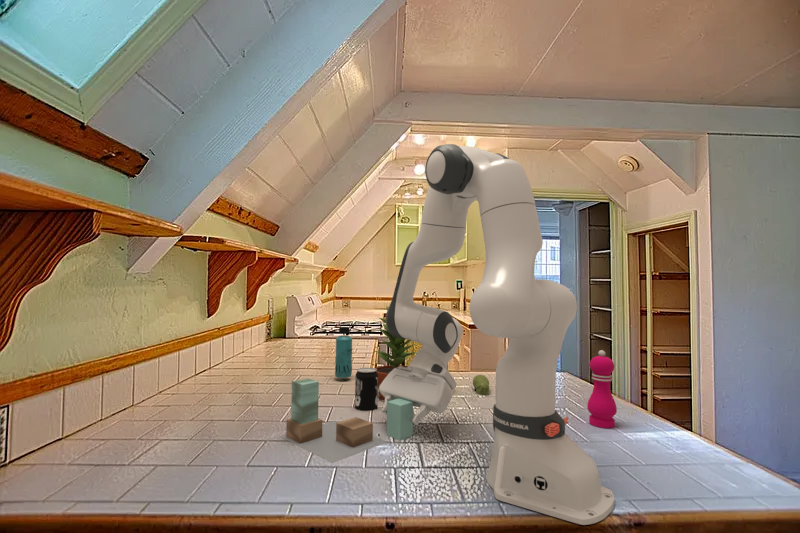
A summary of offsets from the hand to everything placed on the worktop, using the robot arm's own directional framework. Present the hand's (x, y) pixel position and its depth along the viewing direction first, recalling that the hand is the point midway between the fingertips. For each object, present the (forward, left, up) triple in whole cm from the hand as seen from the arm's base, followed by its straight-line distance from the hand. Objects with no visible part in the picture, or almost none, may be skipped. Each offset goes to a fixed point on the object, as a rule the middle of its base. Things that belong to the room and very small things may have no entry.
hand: (398, 418), depth 103 cm
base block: (+5, +10, -4) cm, 12 cm away
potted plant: (+26, -26, -5) cm, 37 cm away
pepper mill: (-31, -47, -5) cm, 57 cm away
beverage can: (+22, -9, -5) cm, 25 cm away
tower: (+15, +17, -4) cm, 23 cm away
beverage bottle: (+56, -28, -5) cm, 63 cm away
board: (+9, +13, -5) cm, 16 cm away
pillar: (0, 0, -5) cm, 5 cm away
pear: (+10, -53, -5) cm, 54 cm away
